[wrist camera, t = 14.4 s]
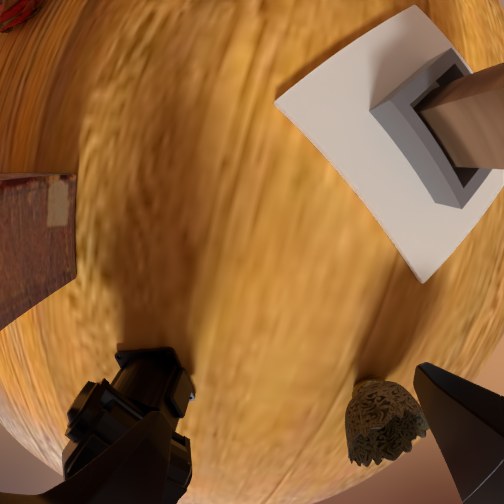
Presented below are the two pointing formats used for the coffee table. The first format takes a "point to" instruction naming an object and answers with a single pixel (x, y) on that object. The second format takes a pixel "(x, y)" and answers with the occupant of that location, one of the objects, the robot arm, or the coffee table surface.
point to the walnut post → (468, 118)
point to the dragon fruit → (15, 13)
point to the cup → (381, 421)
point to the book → (35, 239)
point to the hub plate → (394, 136)
